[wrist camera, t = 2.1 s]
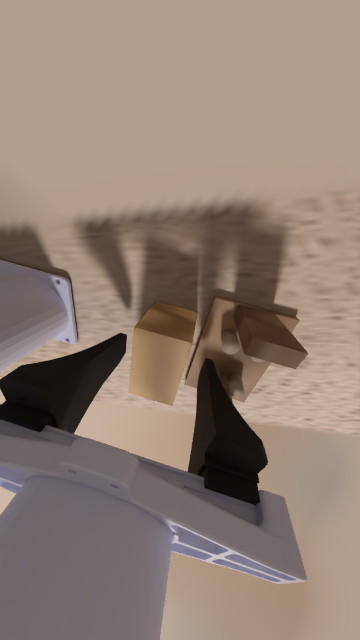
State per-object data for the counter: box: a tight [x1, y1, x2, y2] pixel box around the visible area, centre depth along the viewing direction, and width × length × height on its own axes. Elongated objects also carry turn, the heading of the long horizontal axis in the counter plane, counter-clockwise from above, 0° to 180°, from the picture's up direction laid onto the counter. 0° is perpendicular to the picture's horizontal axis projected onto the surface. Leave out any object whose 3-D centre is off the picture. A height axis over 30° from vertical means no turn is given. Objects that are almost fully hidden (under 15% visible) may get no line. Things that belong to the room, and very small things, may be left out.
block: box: [129, 301, 198, 406], centre depth 14 cm, size 4×7×5 cm, turn 168°
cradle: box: [185, 296, 308, 402], centre depth 14 cm, size 7×11×6 cm, turn 168°
